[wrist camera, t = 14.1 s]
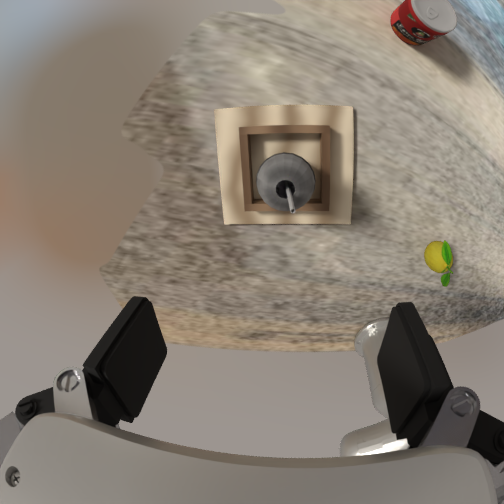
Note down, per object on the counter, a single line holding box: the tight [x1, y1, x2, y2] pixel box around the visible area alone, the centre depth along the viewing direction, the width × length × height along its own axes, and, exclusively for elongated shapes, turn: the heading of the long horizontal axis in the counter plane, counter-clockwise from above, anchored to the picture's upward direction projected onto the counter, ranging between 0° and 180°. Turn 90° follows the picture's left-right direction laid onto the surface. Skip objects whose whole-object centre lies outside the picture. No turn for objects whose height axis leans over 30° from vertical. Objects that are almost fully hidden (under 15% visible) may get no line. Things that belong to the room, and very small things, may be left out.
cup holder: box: [214, 105, 354, 224], centre depth 42 cm, size 22×20×4 cm
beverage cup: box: [256, 152, 316, 213], centre depth 34 cm, size 7×7×20 cm
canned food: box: [391, 0, 457, 45], centre depth 24 cm, size 8×8×11 cm
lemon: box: [424, 240, 453, 287], centre depth 42 cm, size 7×6×10 cm
